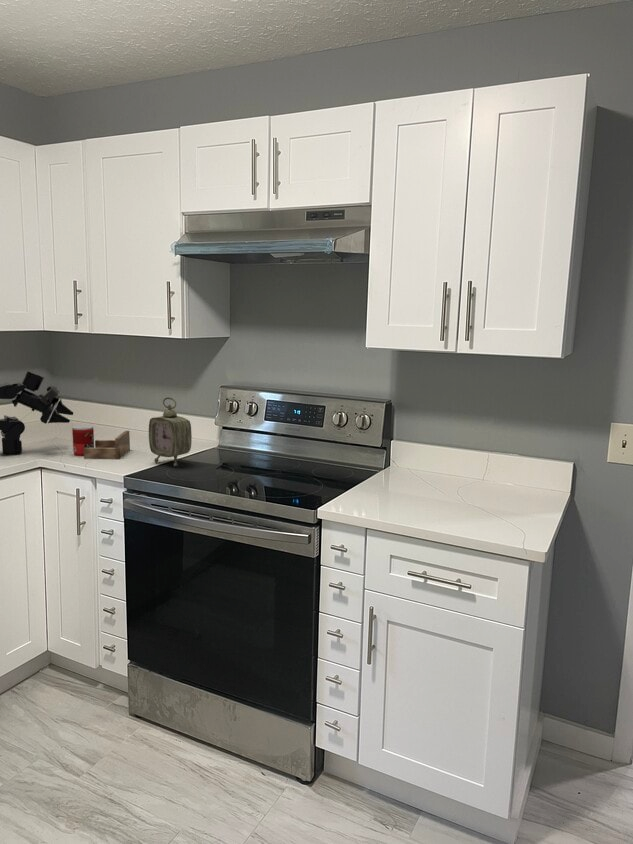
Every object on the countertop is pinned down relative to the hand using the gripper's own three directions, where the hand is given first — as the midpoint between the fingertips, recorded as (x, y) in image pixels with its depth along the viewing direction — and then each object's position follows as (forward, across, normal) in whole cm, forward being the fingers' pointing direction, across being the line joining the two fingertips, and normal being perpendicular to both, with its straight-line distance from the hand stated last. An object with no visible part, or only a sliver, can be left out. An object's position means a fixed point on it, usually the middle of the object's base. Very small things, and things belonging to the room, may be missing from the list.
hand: (71, 417), depth 258 cm
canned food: (+10, -11, +8) cm, 17 cm away
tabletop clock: (+39, -31, -11) cm, 51 cm away
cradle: (+18, -12, +4) cm, 22 cm away
